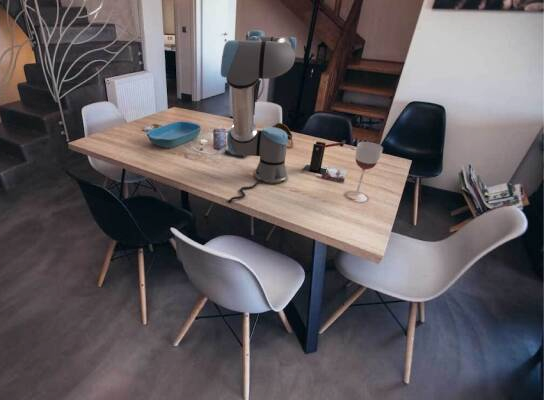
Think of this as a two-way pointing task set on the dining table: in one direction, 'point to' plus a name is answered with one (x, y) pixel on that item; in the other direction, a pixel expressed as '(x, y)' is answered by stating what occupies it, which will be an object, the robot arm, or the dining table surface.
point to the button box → (234, 154)
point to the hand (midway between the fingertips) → (251, 114)
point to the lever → (334, 144)
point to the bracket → (316, 159)
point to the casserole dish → (174, 134)
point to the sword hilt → (286, 129)
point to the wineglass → (366, 161)
